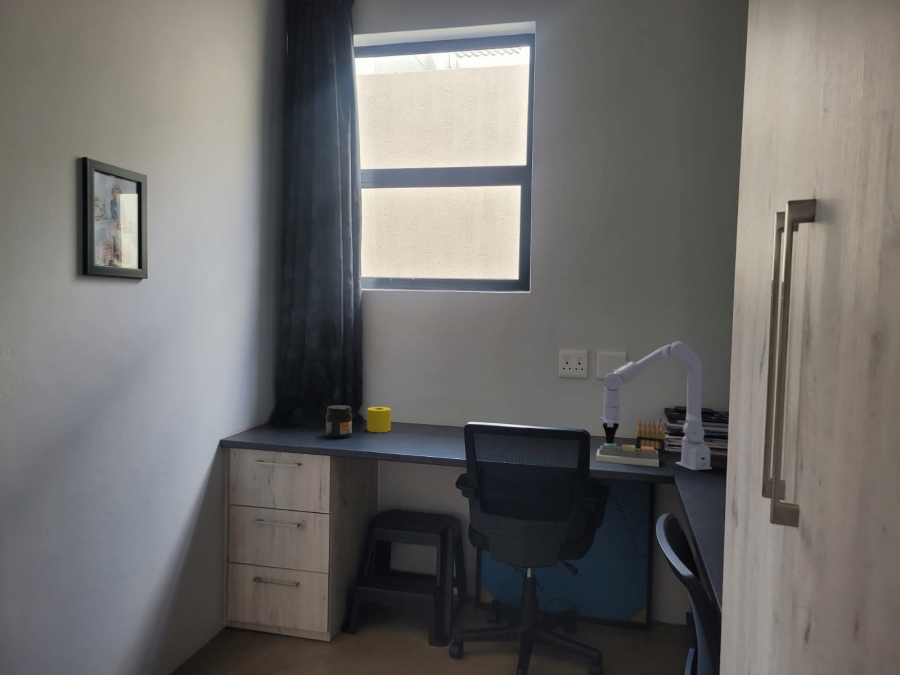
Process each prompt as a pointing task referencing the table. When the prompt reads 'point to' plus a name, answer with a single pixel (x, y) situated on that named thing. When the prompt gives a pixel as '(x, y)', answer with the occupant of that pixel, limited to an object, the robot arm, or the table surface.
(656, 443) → the ammunition clip
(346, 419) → the supplement container
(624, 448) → the ochre key
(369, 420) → the tape roll
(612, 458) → the button pad
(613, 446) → the teal key
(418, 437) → the table surface
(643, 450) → the terracotta key
